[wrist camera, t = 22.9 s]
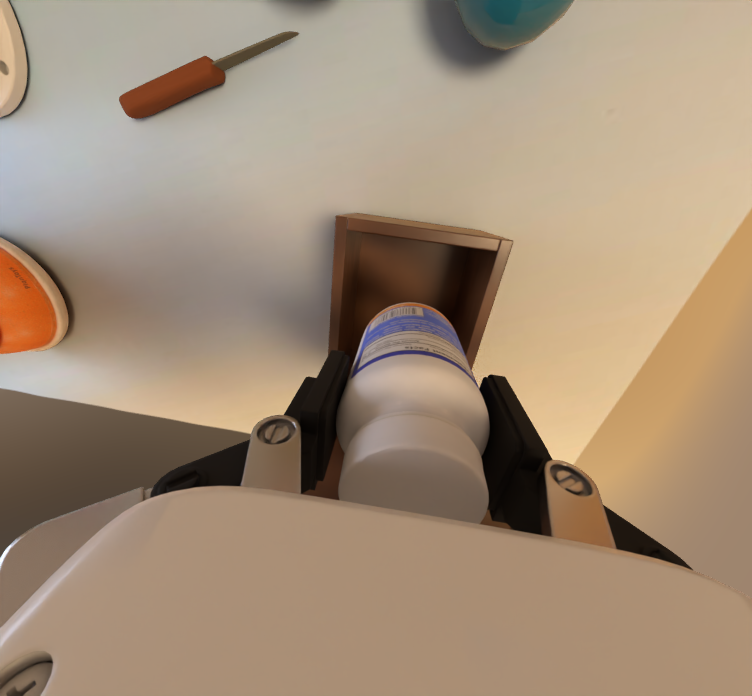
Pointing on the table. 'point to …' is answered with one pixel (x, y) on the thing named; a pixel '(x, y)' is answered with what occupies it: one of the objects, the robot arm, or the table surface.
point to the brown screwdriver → (190, 79)
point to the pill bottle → (413, 419)
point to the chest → (412, 276)
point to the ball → (509, 20)
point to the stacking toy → (28, 304)
